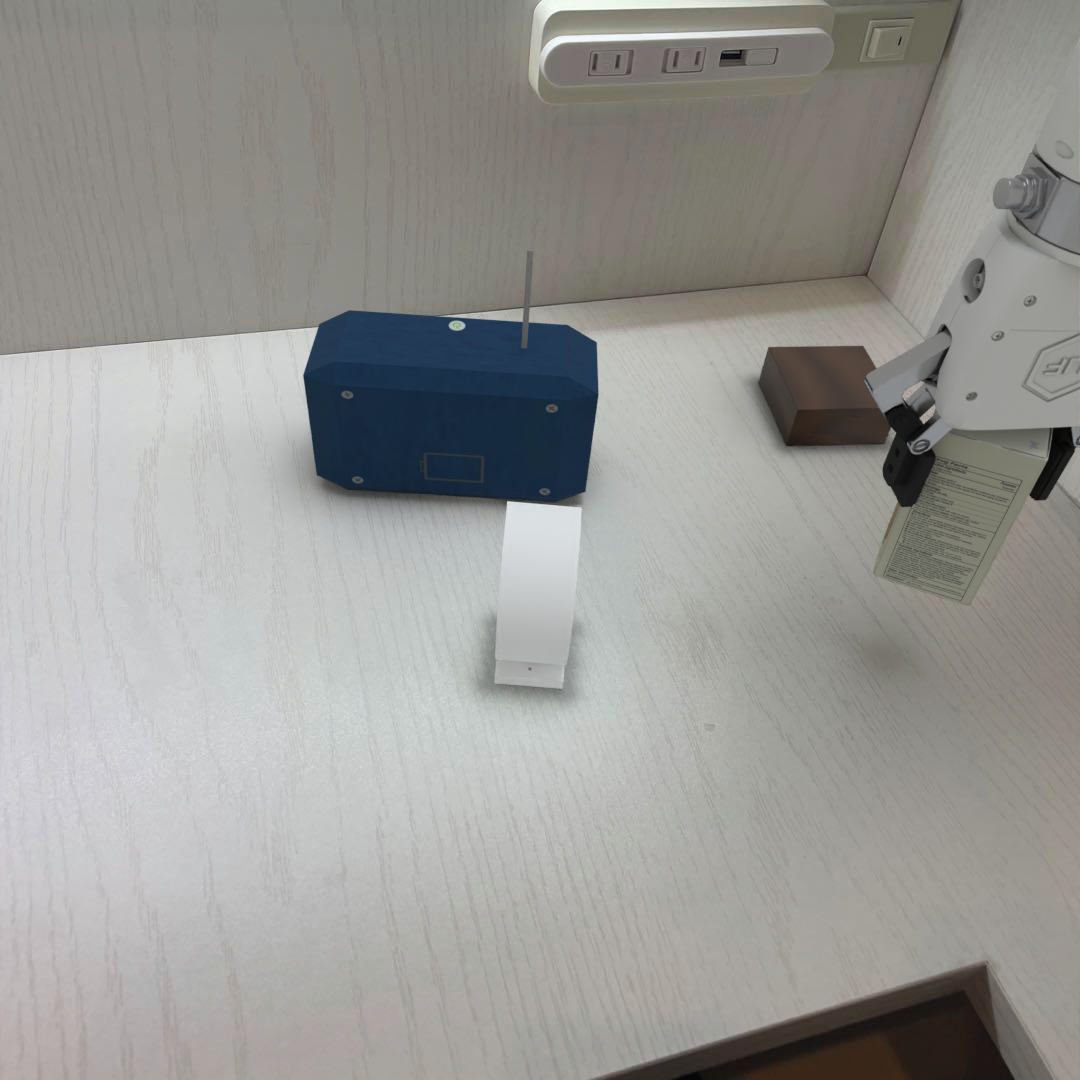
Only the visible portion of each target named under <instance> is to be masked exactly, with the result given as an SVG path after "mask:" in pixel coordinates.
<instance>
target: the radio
mask: <svg viewBox="0 0 1080 1080" xmlns="http://www.w3.org/2000/svg"><path fill="white" fill-rule="evenodd" d="M525 262H526V263H525V279H524V294H523V296H524V297H523V310H522V311H523V315H522V321H514V320H502V319H501V320H500V319H487V318H486V319H485V318H484V319H483V318H471V317H455V316H441V315H440V316H439V315H425V314H409V313H395V312H382V311H381V312H380V311H366V310H352V309H351V310H350V309H348V310H346V311H345V312H342V313H339V314H337V315H336V316H333V317H331V318H329V319H327V320H325V321H322V322H321V323H318V327H317V329H316V334H315V337H314V340H313V342H312V346H311V350H310V351H309V355H308V359H307V362H306V365H305V368H304V371H303V374H302V377H303V385H304V391H305V399H306V406H307V413H308V421H309V428H310V436H311V437H310V438H311V443H312V451H313V458H314V465H315V466H314V467H315V473H316V476H317V477H319V478H321V479H324V480H325V481H328V482H330V483H333V484H335V485H337V486H339V487H341V488H343V489H345V490H347V491H362V492H377V493H391V494H393V493H394V494H406V495H407V494H408V495H409V494H411V495H426V496H443V497H457V498H459V497H460V498H474V499H491V500H492V499H493V500H505V501H506V500H507V501H522V502H537V503H557V502H560V501H564V500H565V499H569V498H572V497H575V496H577V495H580V494H583V493H586V491H587V484H588V477H589V469H590V461H591V455H592V447H593V441H594V440H593V439H594V431H595V424H596V417H597V409H598V403H599V367H598V366H599V365H598V363H599V362H598V342H597V341H595V340H593V339H592V338H591V337H589V336H587V335H585V334H584V333H582V332H580V331H578V330H577V329H575V328H573V327H572V326H570V325H568V324H561V323H560V324H559V323H546V322H545V323H544V322H531V321H530V309H531V308H530V307H531V293H532V280H533V279H532V278H533V277H532V276H533V263H534V250H533V249H528V250H526V261H525Z"/></svg>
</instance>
